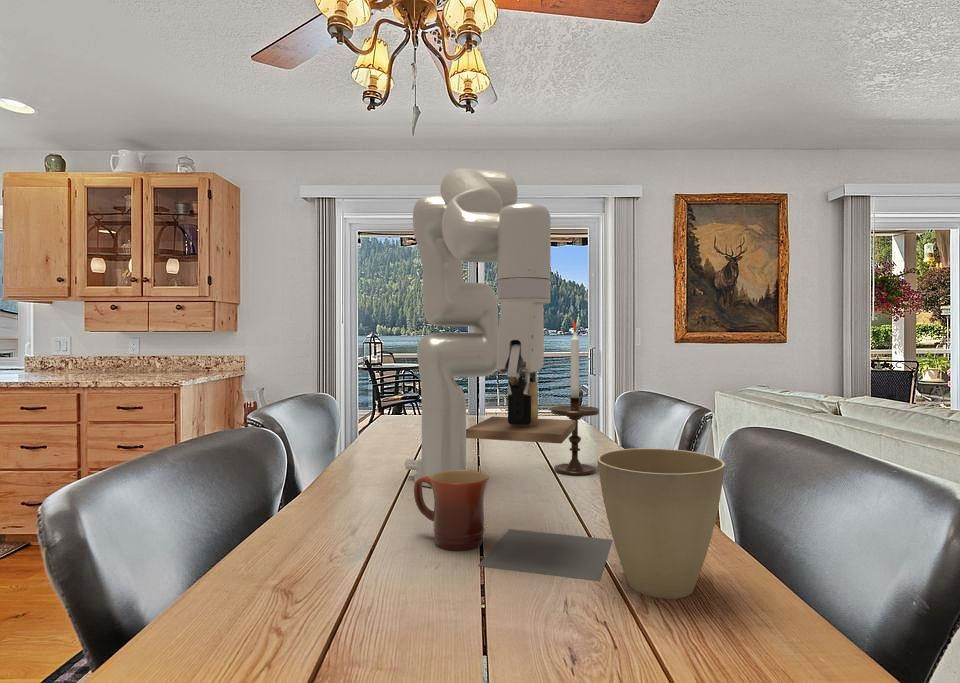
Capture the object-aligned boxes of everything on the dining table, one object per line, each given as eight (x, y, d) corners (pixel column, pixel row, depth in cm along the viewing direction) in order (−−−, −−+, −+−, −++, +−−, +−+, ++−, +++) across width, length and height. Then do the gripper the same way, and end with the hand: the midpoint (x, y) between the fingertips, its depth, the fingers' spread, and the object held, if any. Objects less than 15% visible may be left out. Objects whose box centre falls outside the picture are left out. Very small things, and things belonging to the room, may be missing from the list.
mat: (477, 569, 80) (477, 565, 80) (509, 532, 95) (509, 529, 95) (599, 584, 75) (599, 580, 75) (612, 543, 90) (612, 539, 90)
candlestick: (542, 468, 140) (542, 318, 140) (581, 464, 145) (581, 319, 145) (567, 478, 131) (568, 317, 130) (608, 474, 135) (609, 318, 135)
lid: (466, 438, 82) (466, 385, 82) (492, 424, 94) (492, 378, 94) (561, 443, 78) (561, 388, 78) (575, 428, 90) (575, 380, 90)
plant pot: (629, 557, 84) (629, 443, 84) (740, 585, 75) (741, 457, 75) (574, 592, 73) (574, 460, 72) (698, 631, 63) (698, 479, 63)
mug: (498, 541, 91) (498, 473, 91) (470, 561, 83) (470, 486, 83) (431, 529, 96) (431, 465, 96) (399, 546, 88) (399, 477, 88)
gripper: (512, 296, 95) (511, 413, 95) (481, 289, 79) (481, 429, 79) (559, 296, 93) (559, 415, 93) (538, 288, 77) (537, 432, 77)
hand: (523, 420), depth 86 cm, fingers closed on lid, 4 cm apart
